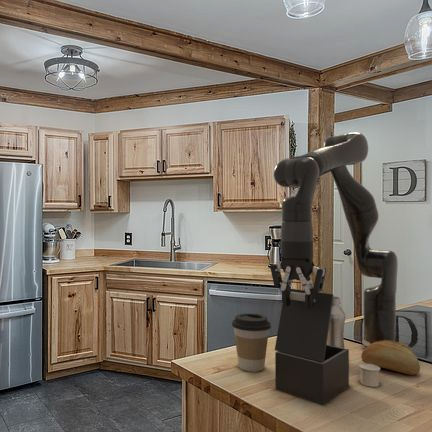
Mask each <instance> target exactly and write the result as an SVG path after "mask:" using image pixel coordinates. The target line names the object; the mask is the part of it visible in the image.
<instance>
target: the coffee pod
mask: <svg viewBox="0 0 432 432" xmlns="http://www.w3.org/2000/svg"><path fill="white" fill-rule="evenodd" d="M358 368H359V369H360V383H361V384H362V385H363V386H365V387H366V386H367V387H370V388H371V387H372V388H376V387H379V386H380V371H381V367H378V366H376V365H373V364H366V363H360V364H359V365H358Z"/></svg>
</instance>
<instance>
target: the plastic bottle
mask: <svg viewBox="0 0 432 432" xmlns="http://www.w3.org/2000/svg"><path fill="white" fill-rule="evenodd" d="M340 305H341V297H340V296H333V303H332V310H331V317H330V324H329V330H328V337H327V344H326V345H331V346H335V347H340V348H344V349H346V348H345V341H344V332H345V322H346V313H345V312H344V310H343V308H342V307H341V306H340Z"/></svg>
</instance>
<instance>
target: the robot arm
mask: <svg viewBox="0 0 432 432" xmlns="http://www.w3.org/2000/svg"><path fill="white" fill-rule="evenodd" d="M368 155H369V143H368V139H367V137H365V135H364V134H363V133H360V132H349V133H343V134H337V135H332V136H328V137H326V139H325V140H324V142H323V147H320V148H317V149H314V150H311V151H309V152H306V153H304V154H302V155H297V156H292V157H288V158H284V159H282V160H280V161H279V162H278V163H277V164H276V165H275V167H274V170H273V178H274V181H275V182H276V184H277V185H278V186H280V187H282V188H298V190H297V192H296V193H295V194H294V195H292V196H287V197H285V198H283V199H282V201H281V226H280V256H281V261H280V262H279V263H273V264H270V265H269V267H270V273H271V277H272V282H273V286H274V288H276V289H279V290H280V292H281V303H282V304H283V303H284V306H289V305H290V297H289V295H290V290H289V288H290V289H291V286H292V284H293V282H294V280H296V281H298V282H300V284H301V286H303V290H305V292H306V294H305V309H307V310H309V309H311V308H312V307H313V306H314V293H317V292H319V293H321V292H322V291H323V287H324V283H325V278H326V275H327V268H326V267H318V266H316V265H315V263H314V227H313V210H312V209H313V201H314V196H315V193H316V188H317V186H318V183H319V178H320V177H322V176H324V175H326V174H329V173H330V174H331V176H332V178H333V182H334V184H335V186H336V189H337V192H338V195H339V199H340V202H341V207H342V210H343V213H344V217H345V220H346V223H347V225H348V229H349V232H350V235H351V239H352V243H353V247H354V253H355V258H356V263H357V267H358V270H359V272H360V274H361V275H362V276H364V277H366V278H367V277H368V278H373V279H381V280H380V284H378V285H375V286H370V287H367V288H365V289H364V290H363V338H362V340H361V341H362V344H363V346H362V347H363V351H364V350H365V348H366V347H368V346H369V345H370V344H372V343H374V342H375V341H378V340H390V341H396V342H397V337H396V336H397V332H396V331H397V323H396V322H397V316H396V315H397V313H396V312H397V310H396V309H397V307H396V306H397V305H396V304H397V303H396V301H397V300H396V299H397V298H396V296H397V288H398V287H397V286H398V285H397V282H398V268H399V266H398V265H399V262H398V257H397V254H396V253H395V252H394V251H392V250H385V249H372V248H371V246H370V241H369V240H370V237H371V235H372V233H373V231H374V229H375V227H376V226H377V223H378V222H379V211H378V207H377V203H376V199H375V197H374V195H373V194H372V193H371V192H370V191H369V189H367V188H366V187H365V186H363V185H362V184H361V183H360V182H359V181H358V180H357V179H355V177H353V175H352V174H351V172H350V171H349V169H348V166H353V165H358V164H361V163H363V162H364V161H365V160H366V159H367V157H368ZM281 271H283V273H284V274H283V277H282V272H281ZM312 273H313V275H314V276H315V277H314V282H313V279H312V276H311V275H312Z"/></svg>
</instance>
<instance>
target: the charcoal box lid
mask: <svg viewBox="0 0 432 432" xmlns="http://www.w3.org/2000/svg"><path fill="white" fill-rule="evenodd" d="M289 290H290V295H289V297H290V305H289V306H284V303H282V305H281V310H280V316H279V321H278V326H277V327H278V328H277V334H276V339H275V346H274V351H275V352H277V351H280V352H284V353H288V354H291V355H295V356H299V357H303V358H307V359H311V360H315V361H319V362H323V363H324V358H325V351H326V344H327V337H328V330H329V324H330V317H331V310H332V303H333V296H334V293H333V294H332V293H327V292H317V293H314V306H313V307H312V308H311V309H309V310H307V309H305V294H306V292H305V289H297V288H291V287H290V288H289ZM334 297H335V296H334Z"/></svg>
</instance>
